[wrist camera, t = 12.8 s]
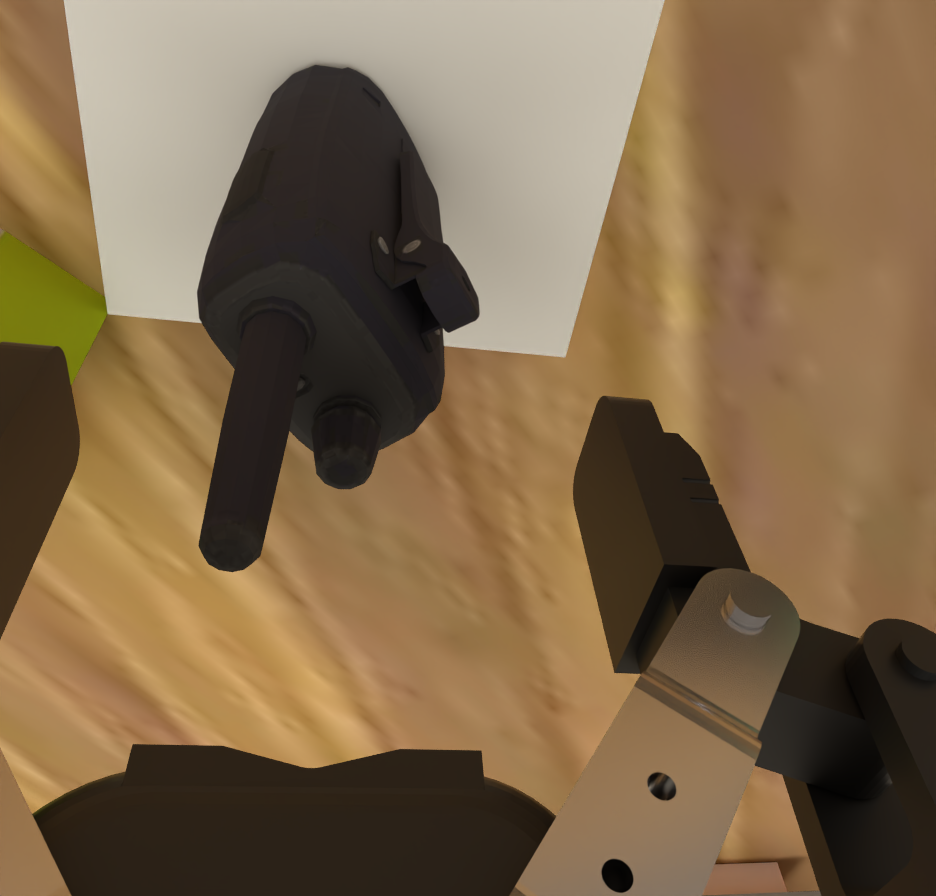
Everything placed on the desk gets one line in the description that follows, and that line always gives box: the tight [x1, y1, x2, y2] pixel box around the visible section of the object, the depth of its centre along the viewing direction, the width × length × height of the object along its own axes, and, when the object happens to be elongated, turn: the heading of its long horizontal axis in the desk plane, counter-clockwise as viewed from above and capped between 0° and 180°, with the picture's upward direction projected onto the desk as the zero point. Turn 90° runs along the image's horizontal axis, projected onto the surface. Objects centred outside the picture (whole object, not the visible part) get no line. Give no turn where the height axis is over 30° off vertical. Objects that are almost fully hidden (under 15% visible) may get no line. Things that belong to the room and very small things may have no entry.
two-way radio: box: [197, 65, 480, 572], centre depth 16 cm, size 6×4×15 cm
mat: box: [64, 0, 665, 357], centre depth 22 cm, size 14×12×1 cm
